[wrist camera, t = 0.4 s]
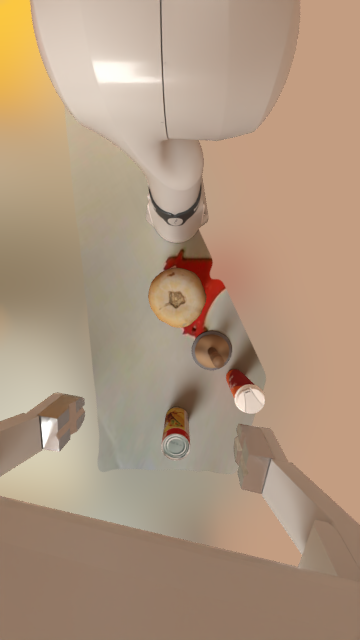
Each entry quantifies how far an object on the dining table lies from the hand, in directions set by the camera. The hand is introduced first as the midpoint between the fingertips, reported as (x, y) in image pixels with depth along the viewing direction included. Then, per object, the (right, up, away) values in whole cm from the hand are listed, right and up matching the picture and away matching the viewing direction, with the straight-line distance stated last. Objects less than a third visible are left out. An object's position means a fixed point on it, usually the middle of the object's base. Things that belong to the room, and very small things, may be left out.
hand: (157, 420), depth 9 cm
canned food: (0, -28, +50) cm, 57 cm away
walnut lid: (+12, -5, +46) cm, 48 cm away
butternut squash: (+1, +12, +46) cm, 47 cm away
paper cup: (+19, -14, +48) cm, 54 cm away
